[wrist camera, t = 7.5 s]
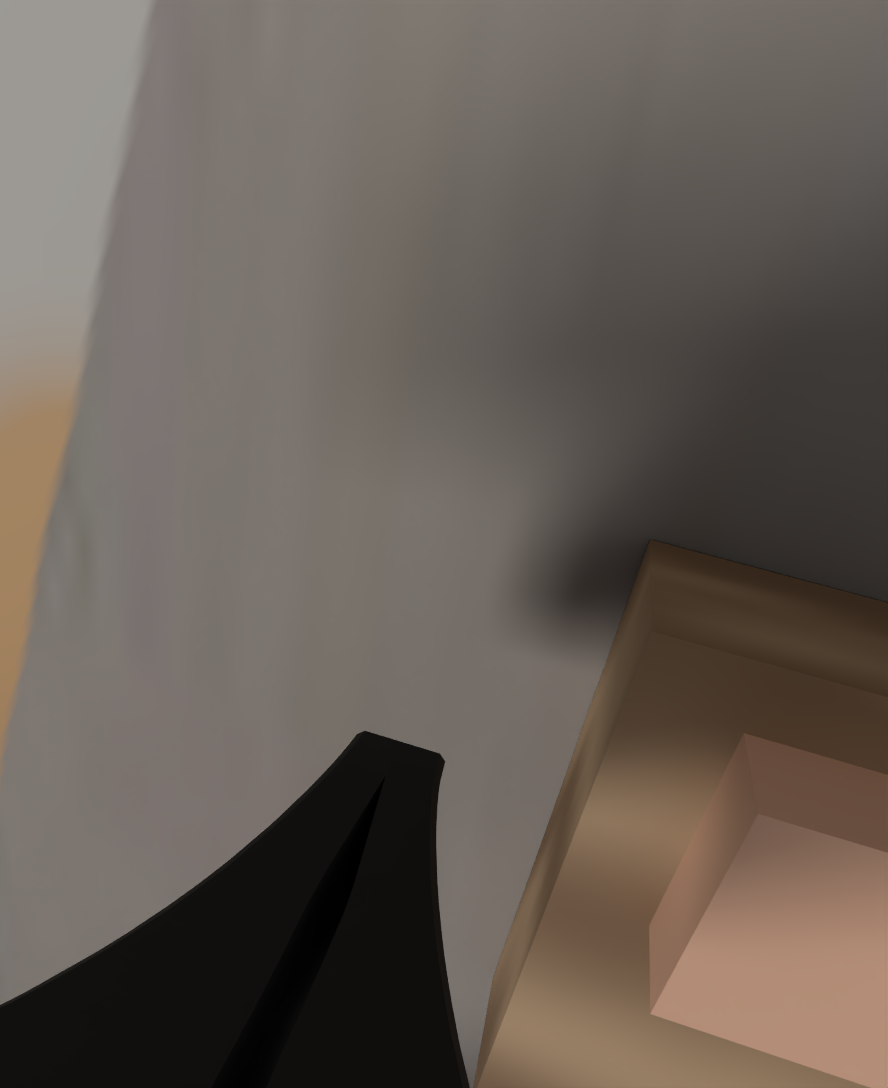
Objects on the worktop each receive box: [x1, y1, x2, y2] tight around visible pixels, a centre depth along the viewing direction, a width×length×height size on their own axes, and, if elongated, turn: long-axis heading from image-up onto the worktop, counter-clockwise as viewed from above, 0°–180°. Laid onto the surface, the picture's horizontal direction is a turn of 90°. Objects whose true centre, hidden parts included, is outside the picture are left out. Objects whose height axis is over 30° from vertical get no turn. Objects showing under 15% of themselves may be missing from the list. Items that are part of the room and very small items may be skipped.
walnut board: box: [473, 540, 888, 1088], centre depth 15 cm, size 13×11×3 cm
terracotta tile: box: [649, 733, 888, 1088], centre depth 12 cm, size 4×4×2 cm
